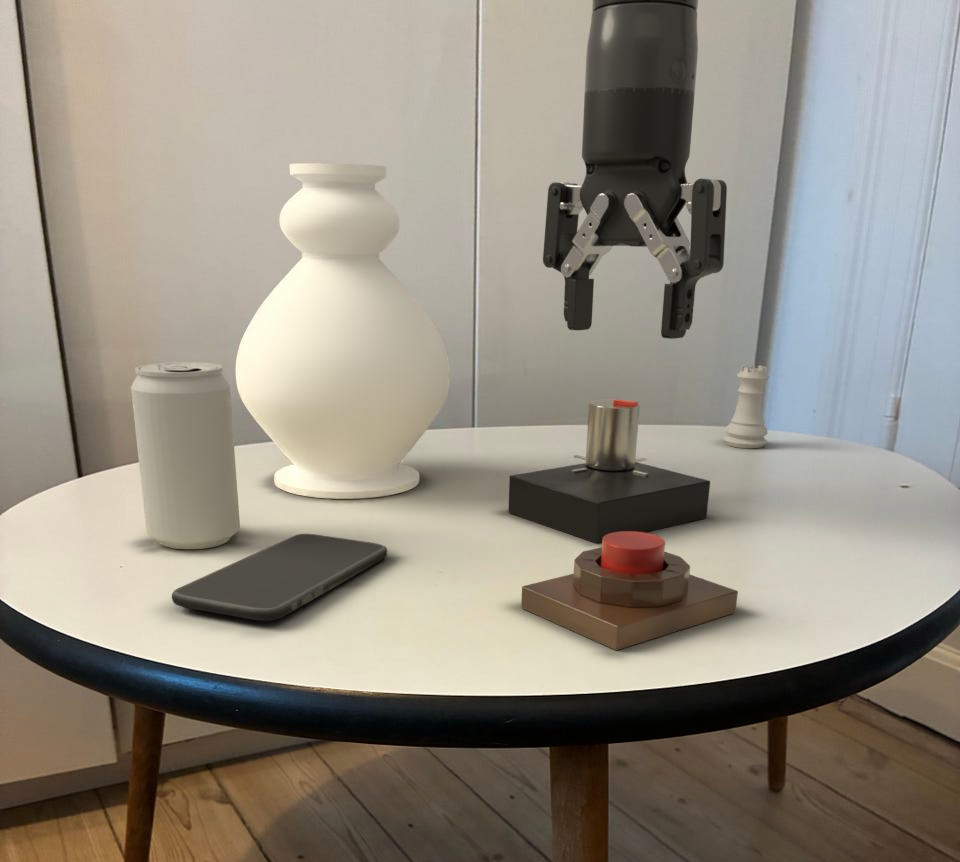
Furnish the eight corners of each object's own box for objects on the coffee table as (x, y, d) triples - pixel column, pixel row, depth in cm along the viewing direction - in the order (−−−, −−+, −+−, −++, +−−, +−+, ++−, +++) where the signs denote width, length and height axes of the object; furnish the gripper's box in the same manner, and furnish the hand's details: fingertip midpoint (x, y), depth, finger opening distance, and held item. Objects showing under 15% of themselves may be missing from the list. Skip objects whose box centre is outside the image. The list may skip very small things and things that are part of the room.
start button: (631, 555, 62) (633, 527, 61) (675, 570, 60) (678, 542, 59) (587, 565, 60) (589, 537, 59) (632, 582, 57) (634, 552, 57)
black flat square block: (608, 485, 90) (610, 449, 88) (716, 516, 81) (720, 476, 80) (491, 507, 82) (492, 468, 81) (596, 543, 73) (599, 500, 72)
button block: (638, 577, 67) (641, 532, 65) (735, 612, 61) (741, 564, 60) (520, 608, 61) (522, 559, 60) (616, 650, 55) (620, 598, 54)
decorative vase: (233, 464, 94) (211, 166, 85) (419, 454, 100) (418, 173, 90) (256, 513, 79) (233, 155, 69) (475, 499, 84) (482, 165, 75)
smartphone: (393, 544, 69) (272, 612, 56) (393, 557, 70) (273, 628, 57) (298, 531, 72) (162, 593, 59) (299, 544, 72) (163, 608, 59)
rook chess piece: (720, 446, 106) (729, 367, 103) (725, 439, 110) (733, 362, 107) (765, 450, 105) (775, 370, 102) (768, 442, 109) (777, 365, 106)
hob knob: (576, 466, 83) (579, 399, 81) (601, 458, 86) (605, 393, 84) (619, 473, 81) (624, 405, 79) (643, 464, 84) (648, 399, 82)
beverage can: (167, 558, 68) (148, 374, 64) (134, 535, 73) (115, 362, 69) (255, 543, 72) (244, 368, 67) (219, 522, 77) (206, 357, 72)
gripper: (760, 86, 68) (734, 338, 74) (589, 100, 77) (579, 324, 83) (700, 74, 63) (678, 345, 69) (525, 91, 72) (519, 329, 78)
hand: (624, 333), depth 76 cm, fingers open, 8 cm apart
